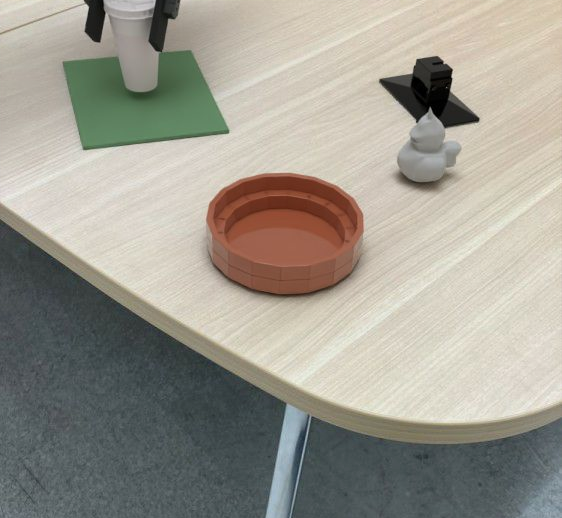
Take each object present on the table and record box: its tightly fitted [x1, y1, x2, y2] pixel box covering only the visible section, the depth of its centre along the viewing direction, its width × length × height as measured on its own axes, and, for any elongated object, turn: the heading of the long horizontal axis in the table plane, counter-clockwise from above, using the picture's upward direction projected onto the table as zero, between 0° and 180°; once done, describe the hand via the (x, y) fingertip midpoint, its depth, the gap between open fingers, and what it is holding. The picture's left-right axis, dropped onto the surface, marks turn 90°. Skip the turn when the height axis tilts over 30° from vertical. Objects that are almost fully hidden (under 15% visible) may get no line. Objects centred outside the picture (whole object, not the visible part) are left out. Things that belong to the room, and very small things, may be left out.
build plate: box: [378, 55, 481, 129], centre depth 93 cm, size 12×7×5 cm, turn 22°
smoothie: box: [103, 0, 160, 92], centre depth 86 cm, size 6×6×14 cm
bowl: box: [205, 172, 365, 295], centre depth 73 cm, size 14×14×4 cm
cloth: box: [62, 49, 230, 150], centre depth 92 cm, size 16×20×1 cm
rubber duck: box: [396, 107, 462, 183], centre depth 80 cm, size 5×7×8 cm
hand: (123, 41), depth 84 cm, fingers closed on smoothie, 6 cm apart
